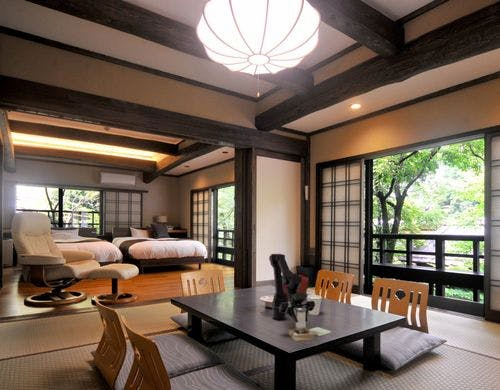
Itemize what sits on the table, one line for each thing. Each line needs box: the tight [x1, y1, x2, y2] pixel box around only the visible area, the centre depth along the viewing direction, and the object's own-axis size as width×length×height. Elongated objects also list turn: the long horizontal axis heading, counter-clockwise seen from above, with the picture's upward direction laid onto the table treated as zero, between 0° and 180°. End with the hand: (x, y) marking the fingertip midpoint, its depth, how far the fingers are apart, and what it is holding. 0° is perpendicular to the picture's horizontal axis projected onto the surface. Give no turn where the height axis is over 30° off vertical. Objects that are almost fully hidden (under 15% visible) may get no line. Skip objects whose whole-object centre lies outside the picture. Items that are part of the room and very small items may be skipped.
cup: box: [306, 294, 323, 316], centre depth 208 cm, size 10×10×11 cm
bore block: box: [288, 327, 316, 342], centre depth 164 cm, size 10×10×3 cm
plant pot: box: [282, 274, 310, 302], centre depth 250 cm, size 19×19×17 cm
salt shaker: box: [294, 306, 307, 334], centre depth 165 cm, size 6×6×13 cm
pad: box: [308, 326, 332, 337], centre depth 173 cm, size 10×10×1 cm
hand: (301, 321), depth 164 cm, fingers closed on salt shaker, 5 cm apart
